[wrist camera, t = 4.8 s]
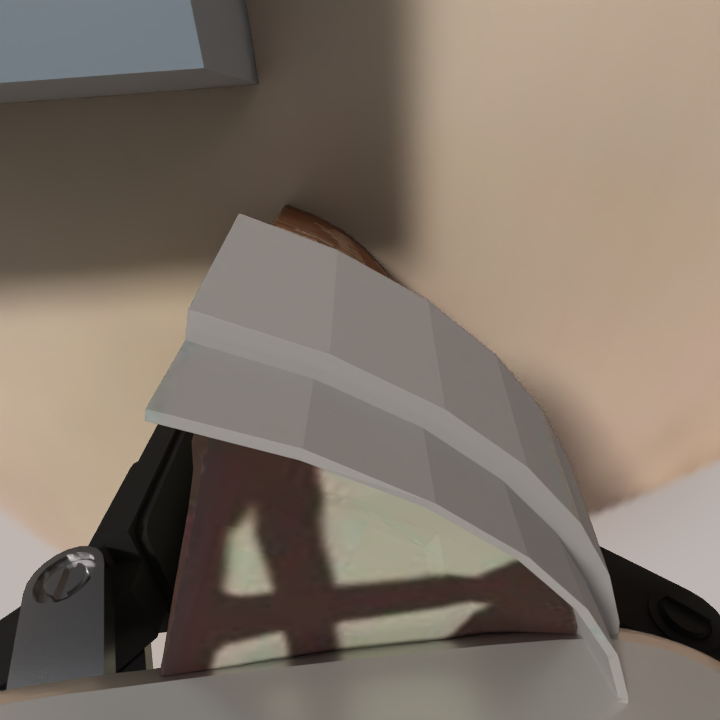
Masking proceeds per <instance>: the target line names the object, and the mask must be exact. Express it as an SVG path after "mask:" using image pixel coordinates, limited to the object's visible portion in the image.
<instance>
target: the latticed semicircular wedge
mask: <svg viewBox="0 0 720 720" xmlns="http://www.w3.org/2000/svg"><path fill="white" fill-rule="evenodd" d="M145 421H148V422H152V423H156V424H160V425H163V426H167V427H171V428H175V429H179V430H183V431H187V432H191V433H194V435H193V438H192V457H193V477H192V485H191V492H190V500H189V508H188V514H187V519H186V525H185V531H184V536H183V542H182V547H181V553H180V559H179V564H178V570H177V576H176V581H175V587H174V593H173V599H172V605H171V611H170V617H169V623H168V629H167V636H166V642H165V648H164V654H163V659H162V664H161V669H160V676H161V677H164V676H172V675H179V674H186V673H193V672H200V671H207V670H214V669H221V668H227V667H234V666H240V665H246V664H252V663H258V662H264V661H271V660H278V659H284V658H291V657H298V656H305V655H312V654H318V653H324V652H332V651H340V650H348V649H357V648H366V647H375V646H385V645H394V644H404V643H414V642H423V641H433V640H443V639H453V638H460V637H467V636H473V635H480V634H495V633H515V632H522V633H550V634H579V635H580V636H581V637H582V638H583V639H584V641H585V643H586V645H587V647H588V648H589V650H590V652H591V654H592V656H593V657H594V659H595V661H596V663H597V665H598V666H599V668H600V670H601V672H602V674H603V675H604V677H605V679H606V681H607V683H608V684H609V686H610V688H611V690H612V692H613V694H614V695H615V697H616V699H617V701H619V702H623V703H627V704H628V694H627V690H626V686H625V682H624V678H623V673H622V669H621V665H620V661H619V657H618V654H617V652H616V650H615V647H614V645H613V643H612V640H611V638H610V636H609V634H613V635H618V632H619V617H618V612H617V608H616V603H615V598H614V594H613V589H612V584H611V579H610V575H609V572H608V569H607V566H606V564H605V561H604V558H603V555H602V552H601V549H600V546H599V544H598V541H597V538H596V535H595V532H594V530H593V526H592V524H591V521H590V518H589V515H588V512H587V509H586V506H585V504H584V501H583V498H582V495H581V492H580V489H579V486H578V484H577V481H576V478H575V475H574V472H573V469H572V466H571V464H570V461H569V459H568V457H567V455H566V453H565V451H564V450H563V448H562V446H561V444H560V442H559V440H558V438H557V436H556V434H555V433H554V431H553V429H552V427H551V425H550V423H549V421H548V419H547V418H546V416H545V414H544V412H543V410H542V408H541V407H540V406H539V405H538V404H537V403H536V401H535V400H534V399H533V398H532V397H531V395H530V394H529V393H528V392H527V391H526V390H525V388H524V387H523V386H522V385H521V384H520V383H519V381H518V380H517V379H516V378H515V377H514V375H513V374H512V373H511V372H510V371H509V370H508V368H507V367H506V366H505V365H504V364H503V363H502V361H501V360H500V359H499V358H498V357H497V355H496V354H494V353H493V352H492V351H491V350H489V349H488V348H487V347H486V346H485V345H483V344H482V343H481V342H480V341H478V340H477V339H476V338H475V337H473V336H472V335H471V334H470V333H468V332H467V331H466V330H465V329H463V328H462V327H461V326H460V325H458V324H457V323H456V322H455V321H453V320H452V319H451V318H450V317H448V316H447V315H446V314H445V313H443V312H442V311H441V310H440V309H438V308H437V307H436V306H435V305H433V304H432V303H431V302H430V301H428V300H427V299H425V298H423V297H421V296H420V295H418V294H416V293H414V292H412V291H411V290H409V289H407V288H405V287H403V286H402V285H400V284H398V283H396V282H394V281H393V280H391V279H390V278H389V276H388V275H387V273H386V272H385V270H384V269H383V267H382V266H381V265H380V264H379V263H378V262H377V261H376V260H375V259H374V258H373V256H372V255H371V254H370V253H369V252H368V251H367V250H366V249H365V248H364V247H363V246H362V245H360V244H359V243H358V242H356V241H355V240H354V239H353V238H351V237H350V236H349V235H348V234H346V233H345V232H344V231H342V230H341V229H339V228H337V227H335V226H334V225H332V224H330V223H328V222H327V221H325V220H323V219H321V218H320V217H318V216H315V215H313V214H310V213H308V212H305V211H302V210H300V209H297V208H294V207H292V206H289V205H285V206H284V208H283V209H282V210H281V212H280V213H279V215H278V216H277V217H276V219H275V220H274V221H273V223H272V224H271V225H270V224H267V223H264V222H262V221H259V220H256V219H254V218H251V217H248V216H246V215H243V214H240V213H239V214H238V216H237V218H236V220H235V222H234V224H233V226H232V227H231V229H230V231H229V233H228V235H227V237H226V239H225V241H224V243H223V245H222V246H221V248H220V250H219V252H218V254H217V256H216V258H215V260H214V262H213V264H212V265H211V267H210V269H209V271H208V273H207V275H206V277H205V279H204V281H203V283H202V284H201V286H200V288H199V290H198V292H197V294H196V296H195V298H194V300H193V302H192V303H191V305H190V307H189V309H188V319H187V328H186V339H185V342H184V343H183V345H182V347H181V349H180V350H179V352H178V354H177V355H176V357H175V359H174V361H173V362H172V364H171V366H170V368H169V369H168V371H167V373H166V375H165V376H164V378H163V380H162V381H161V383H160V385H159V387H158V388H157V390H156V392H155V394H154V395H153V397H152V399H151V401H150V402H149V404H148V406H147V407H146V414H145Z"/></svg>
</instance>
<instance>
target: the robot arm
mask: <svg viewBox="0 0 720 720" xmlns="http://www.w3.org/2000/svg"><path fill="white" fill-rule="evenodd" d="M193 435H194V433H191V432H187V431H183V430H179V429H175V428H171V427H167V426H163V425H160V424H158V425H157V427H156V429H155V431H154V433H153V434H152V436H151V438H150V440H149V442H148V444H147V446H146V448H145V450H144V451H143V453H142V455H141V457H140V459H139V461H138V462H136V463H134V464H133V465H132V467H131V468H130V470H129V472H128V474H127V475H126V477H125V479H124V481H123V483H122V485H121V487H120V488H119V490H118V492H117V494H116V496H115V498H114V499H113V501H112V503H111V505H110V507H109V509H108V510H107V512H106V514H105V516H104V518H103V520H102V522H101V523H100V525H99V527H98V529H97V531H96V533H95V534H94V536H93V538H92V540H91V542H90V544H89V545H88V546H79V547H75V548H72V549H68V550H66V551H64V552H62V553H60V554H58V555H56V556H54V557H53V558H51V559H50V560H48V561H47V562H46V563H44V564H43V565H42V566H41V567H40V568H39V569H38V570H37V571H36V572H35V573H34V574H33V576H32V577H31V578H30V580H29V581H28V583H27V585H26V587H25V590H24V593H23V598H22V603H21V606H20V607H19V608H18V609H16V610H15V611H13V612H12V613H10V614H9V615H7V616H6V617H4V618H3V619H1V620H0V720H720V615H719V614H718V612H717V611H716V610H715V609H714V608H713V607H712V606H710V605H709V604H708V603H707V602H706V601H705V600H703V599H702V598H700V597H699V596H697V595H695V594H694V593H692V592H691V591H689V590H687V589H685V588H683V587H681V586H679V585H677V584H675V583H673V582H671V581H669V580H667V579H665V578H663V577H661V576H658V575H657V574H655V573H653V572H651V571H649V570H647V569H645V568H643V567H641V566H639V565H636V564H634V563H633V562H631V561H628V560H627V559H625V558H623V557H621V556H619V555H616V554H614V553H612V552H610V551H608V550H606V549H604V548H602V547H600V549H601V552H602V555H603V558H604V561H605V564H606V566H607V569H608V572H609V575H610V579H611V584H612V589H613V594H614V598H615V603H616V608H617V612H618V617H619V632H618V635H613V634H609V636H610V638H611V640H612V643H613V645H614V647H615V650H616V652H617V654H618V657H619V661H620V665H621V669H622V673H623V678H624V682H625V686H626V690H627V694H628V704H627V703H623V702H619V701H617V699H616V697H615V695H614V694H613V692H612V690H611V688H610V686H609V684H608V683H607V681H606V679H605V677H604V675H603V674H602V672H601V670H600V668H599V666H598V665H597V663H596V661H595V659H594V657H593V656H592V654H591V652H590V650H589V648H588V647H587V645H586V643H585V641H584V639H583V638H582V637H581V636H580V635H579V634H550V633H522V632H515V633H495V634H480V635H473V636H467V637H460V638H453V639H443V640H433V641H423V642H414V643H404V644H394V645H385V646H375V647H366V648H357V649H348V650H340V651H332V652H324V653H318V654H312V655H305V656H298V657H291V658H284V659H278V660H271V661H264V662H258V663H252V664H246V665H240V666H234V667H227V668H221V669H214V670H207V671H200V672H193V673H186V674H179V675H172V676H164V677H161V676H160V669H161V668H157V669H153V662H152V651H151V642H152V641H153V640H154V639H156V638H157V636H158V633H162V632H167V629H168V623H169V617H170V611H171V605H172V599H173V593H174V587H175V581H176V576H177V570H178V564H179V559H180V553H181V547H182V542H183V536H184V531H185V525H186V519H187V514H188V508H189V500H190V492H191V485H192V477H193V457H192V438H193Z"/></svg>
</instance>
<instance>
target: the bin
mask: <svg viewBox="0 0 720 720" xmlns="http://www.w3.org/2000/svg"><path fill="white" fill-rule="evenodd" d="M257 84H258V78H257V71H256V65H255V58H254V52H253V45H252V39H251V33H250V26H249V20H248V13H247V7H246V0H0V104H1V103H15V102H28V101H42V100H55V99H69V98H82V97H96V96H109V95H122V94H136V93H149V92H163V91H176V90H190V89H203V88H217V87H230V86H243V85H257Z"/></svg>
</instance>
